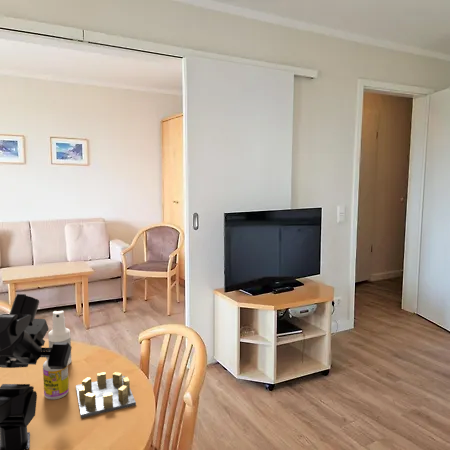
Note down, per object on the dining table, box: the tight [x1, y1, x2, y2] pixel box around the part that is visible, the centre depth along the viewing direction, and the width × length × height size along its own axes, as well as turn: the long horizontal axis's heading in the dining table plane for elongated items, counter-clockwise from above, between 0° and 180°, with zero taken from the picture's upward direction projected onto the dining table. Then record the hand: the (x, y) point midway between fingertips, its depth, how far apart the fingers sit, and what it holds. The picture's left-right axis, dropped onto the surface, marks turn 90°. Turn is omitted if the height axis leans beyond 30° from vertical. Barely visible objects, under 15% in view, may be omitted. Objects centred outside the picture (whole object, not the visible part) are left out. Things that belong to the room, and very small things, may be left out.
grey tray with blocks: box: [75, 371, 137, 419], centre depth 117 cm, size 16×14×4 cm
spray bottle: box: [47, 310, 73, 366], centre depth 136 cm, size 7×7×18 cm
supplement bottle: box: [42, 351, 70, 400], centre depth 117 cm, size 7×7×13 cm
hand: (44, 365), depth 111 cm, fingers open, 9 cm apart
